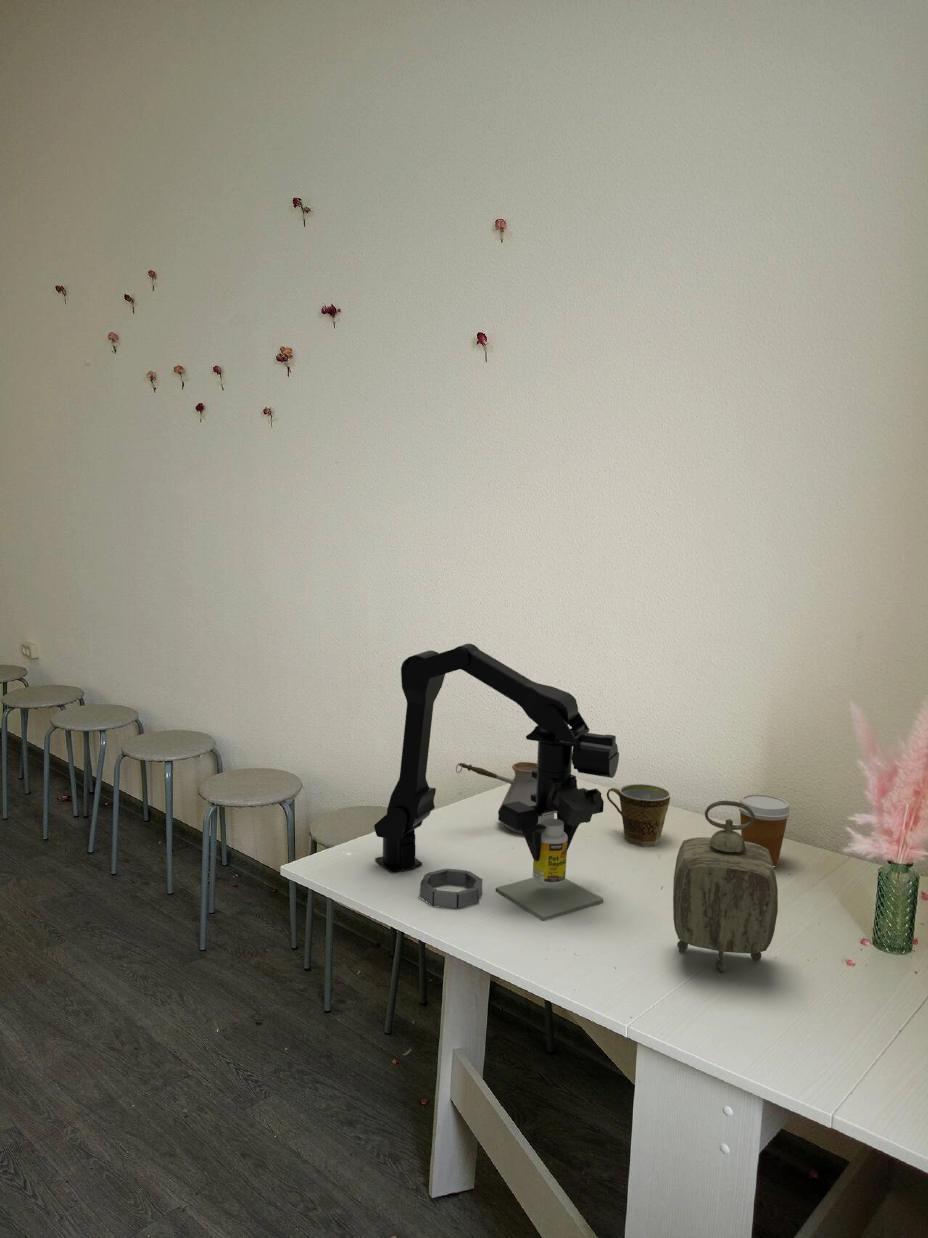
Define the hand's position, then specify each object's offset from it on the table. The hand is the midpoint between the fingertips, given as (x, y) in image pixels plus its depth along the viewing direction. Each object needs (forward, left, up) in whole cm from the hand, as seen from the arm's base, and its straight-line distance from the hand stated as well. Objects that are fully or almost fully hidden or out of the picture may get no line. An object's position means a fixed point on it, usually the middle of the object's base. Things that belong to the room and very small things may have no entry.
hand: (549, 857), depth 159 cm
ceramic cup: (-12, +32, -7) cm, 35 cm away
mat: (0, 0, -7) cm, 7 cm away
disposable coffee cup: (+9, +44, -7) cm, 46 cm away
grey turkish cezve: (-29, +12, -7) cm, 32 cm away
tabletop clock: (+31, +7, -7) cm, 33 cm away
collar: (-9, -14, -7) cm, 18 cm away
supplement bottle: (0, 0, -4) cm, 4 cm away
